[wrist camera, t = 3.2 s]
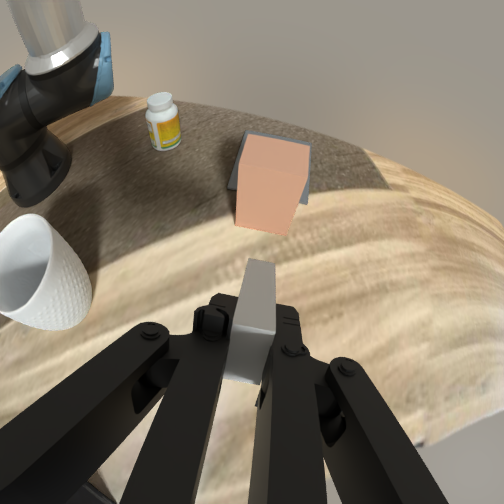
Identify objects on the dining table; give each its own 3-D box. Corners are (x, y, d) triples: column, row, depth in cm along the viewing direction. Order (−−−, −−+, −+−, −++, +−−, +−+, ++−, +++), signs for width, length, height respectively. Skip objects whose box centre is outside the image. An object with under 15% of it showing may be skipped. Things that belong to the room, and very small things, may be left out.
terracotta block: (286, 235, 37) (307, 177, 26) (235, 225, 37) (238, 163, 26) (290, 206, 39) (309, 146, 28) (242, 197, 39) (248, 133, 28)
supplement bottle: (146, 149, 42) (135, 106, 34) (161, 130, 45) (153, 88, 36) (173, 154, 42) (165, 108, 33) (186, 134, 44) (181, 91, 36)
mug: (21, 328, 27) (-39, 301, 15) (35, 259, 32) (-14, 215, 20) (100, 346, 28) (38, 324, 16) (112, 264, 33) (66, 210, 21)
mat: (307, 204, 39) (307, 203, 39) (227, 188, 39) (227, 187, 39) (311, 144, 46) (311, 143, 45) (245, 131, 46) (245, 130, 45)
